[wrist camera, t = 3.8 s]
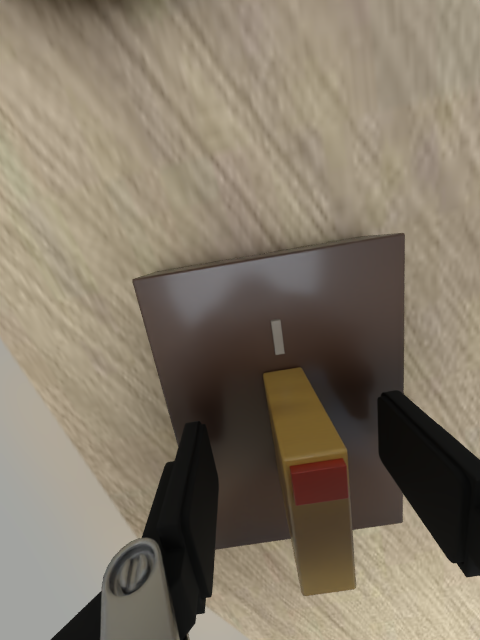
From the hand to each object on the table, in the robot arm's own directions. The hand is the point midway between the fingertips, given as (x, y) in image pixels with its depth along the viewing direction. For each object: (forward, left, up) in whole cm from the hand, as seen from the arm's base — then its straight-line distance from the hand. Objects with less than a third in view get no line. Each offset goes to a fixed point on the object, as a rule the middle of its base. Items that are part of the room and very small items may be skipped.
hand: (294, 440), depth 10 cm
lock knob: (0, 0, -1) cm, 1 cm away
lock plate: (0, 0, -4) cm, 4 cm away
